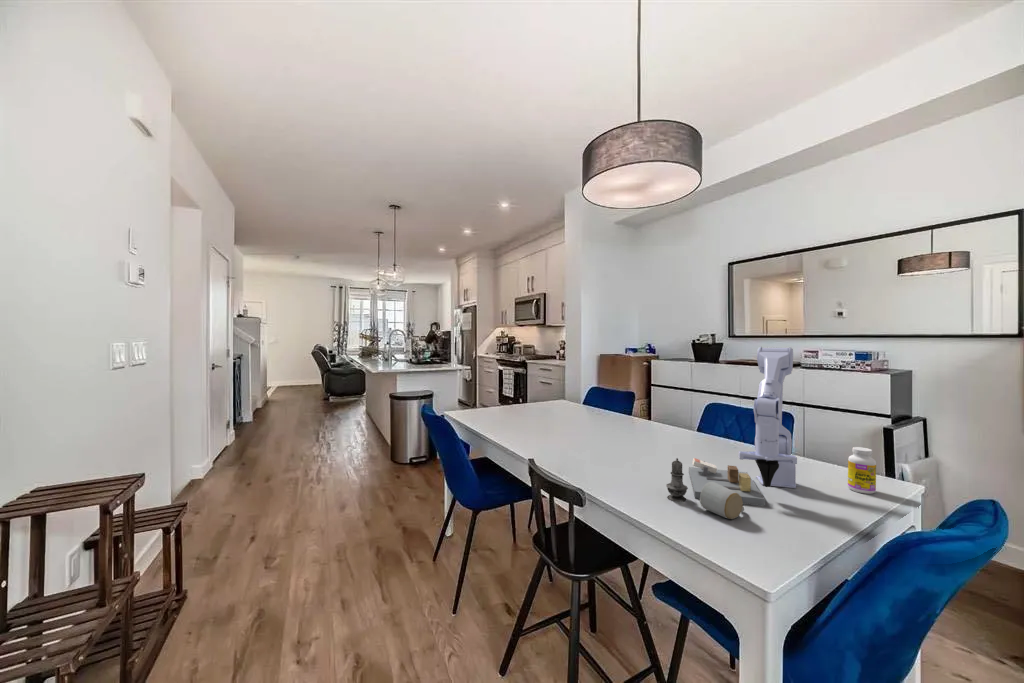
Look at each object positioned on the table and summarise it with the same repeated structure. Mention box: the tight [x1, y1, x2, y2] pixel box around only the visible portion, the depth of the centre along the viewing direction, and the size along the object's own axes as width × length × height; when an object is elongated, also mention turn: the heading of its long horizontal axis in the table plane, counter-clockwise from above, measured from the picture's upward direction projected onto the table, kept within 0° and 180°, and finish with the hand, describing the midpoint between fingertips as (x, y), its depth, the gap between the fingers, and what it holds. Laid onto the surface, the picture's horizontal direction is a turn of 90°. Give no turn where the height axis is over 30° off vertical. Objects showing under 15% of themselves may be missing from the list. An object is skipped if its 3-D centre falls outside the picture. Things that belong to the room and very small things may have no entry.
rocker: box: [691, 457, 718, 473], centre depth 140 cm, size 7×5×2 cm
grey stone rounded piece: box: [666, 457, 689, 503], centre depth 122 cm, size 6×6×12 cm
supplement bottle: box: [847, 446, 877, 495], centre depth 128 cm, size 7×7×13 cm
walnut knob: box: [727, 465, 739, 483], centre depth 131 cm, size 2×4×4 cm, turn 161°
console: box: [688, 460, 766, 507], centre depth 131 cm, size 18×24×5 cm
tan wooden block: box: [739, 473, 752, 492], centre depth 124 cm, size 2×4×4 cm, turn 161°
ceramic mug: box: [699, 482, 745, 520], centre depth 112 cm, size 11×8×8 cm
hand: (766, 485), depth 122 cm, fingers closed
